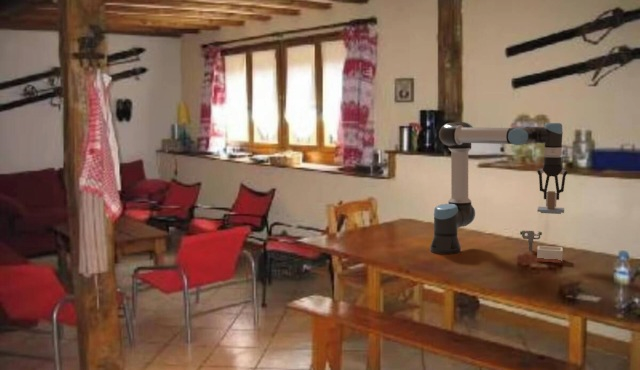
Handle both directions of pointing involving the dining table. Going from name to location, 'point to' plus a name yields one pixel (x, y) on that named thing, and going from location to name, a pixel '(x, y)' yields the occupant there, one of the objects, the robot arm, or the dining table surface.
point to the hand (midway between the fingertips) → (551, 206)
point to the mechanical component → (530, 237)
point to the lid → (551, 205)
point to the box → (549, 252)
